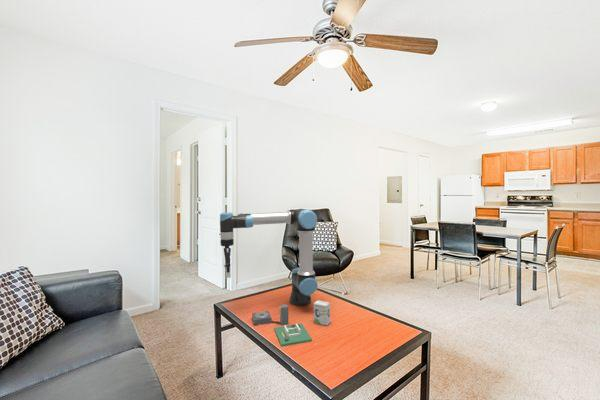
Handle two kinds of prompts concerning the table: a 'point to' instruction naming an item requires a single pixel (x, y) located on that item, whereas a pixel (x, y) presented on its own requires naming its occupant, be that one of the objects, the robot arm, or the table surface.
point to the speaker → (261, 318)
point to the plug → (283, 314)
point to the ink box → (322, 312)
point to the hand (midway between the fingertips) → (227, 274)
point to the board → (292, 334)
